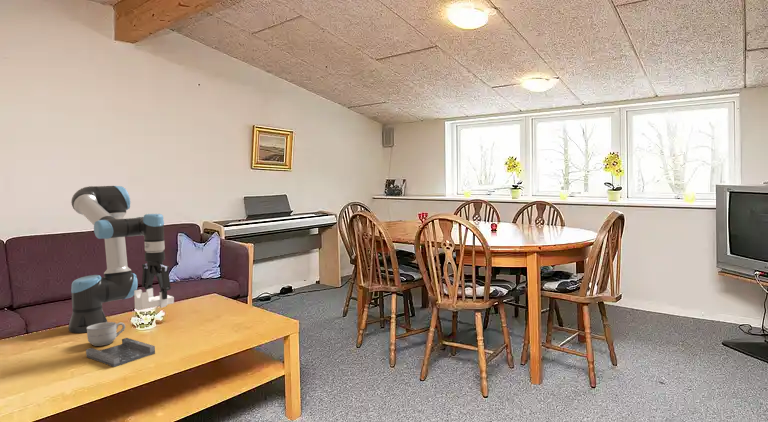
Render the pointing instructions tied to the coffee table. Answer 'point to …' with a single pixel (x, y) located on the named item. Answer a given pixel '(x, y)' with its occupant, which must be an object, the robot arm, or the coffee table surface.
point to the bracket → (148, 300)
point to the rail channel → (121, 352)
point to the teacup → (103, 333)
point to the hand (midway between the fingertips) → (156, 305)
